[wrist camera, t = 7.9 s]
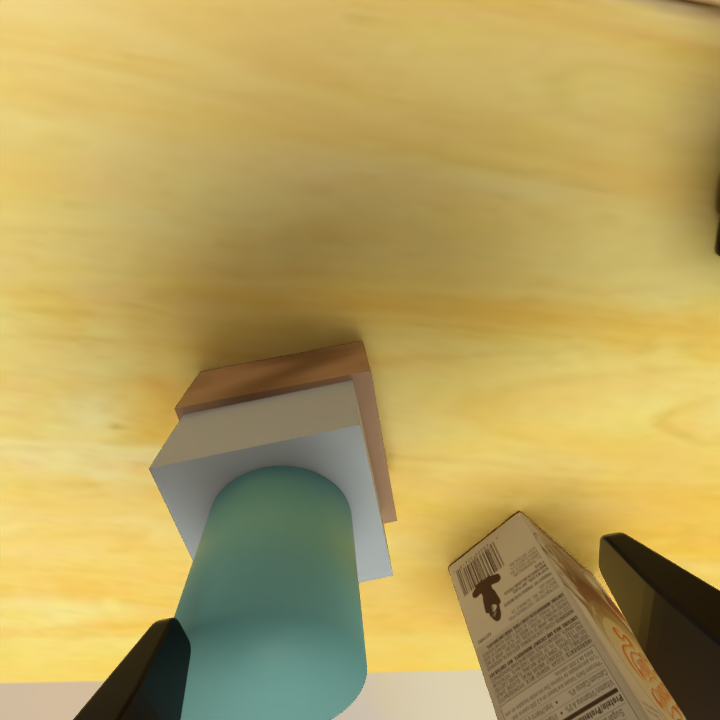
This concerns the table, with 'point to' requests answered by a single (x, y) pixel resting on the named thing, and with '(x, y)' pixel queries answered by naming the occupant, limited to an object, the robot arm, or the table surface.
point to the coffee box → (552, 634)
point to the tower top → (275, 460)
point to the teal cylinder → (274, 602)
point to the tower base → (297, 376)
